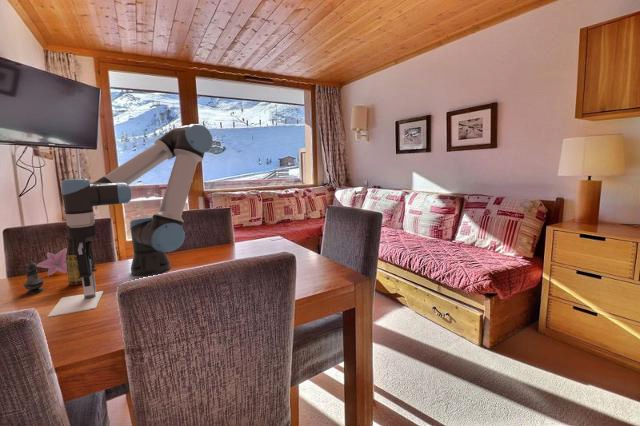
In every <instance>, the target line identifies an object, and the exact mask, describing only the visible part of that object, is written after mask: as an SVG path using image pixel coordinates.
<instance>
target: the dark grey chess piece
mask: <svg viewBox="0 0 640 426" xmlns="http://www.w3.org/2000/svg"><path fill="white" fill-rule="evenodd" d="M36 265H37V263H36V262H34V261H32V260H31V259H29V260H28V262H27V263H26V264H25V271H26V272H25V273H24V274H25V275H26V281H25V282H23V284H22V286H23V287H24V288H25V289H26V290H27V291H26V292H25V294H26V295H34V294H38V293H41V292H44V291H45V290H46V289H45V288H44V287H43V286H44V281H45V279H43V278H39V273H38V272H39V270H37V266H36ZM42 287H43V288H42Z"/></svg>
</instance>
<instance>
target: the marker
mask: <svg viewBox="0 0 640 426" xmlns="http://www.w3.org/2000/svg"><path fill="white" fill-rule="evenodd" d="M89 261H90V271H91V275H92V279H93V273H92V263H91V259H89ZM81 279H82V278H81ZM81 285H82V287H83V283H82V284H81ZM93 287H94V280H93ZM82 291H83V293H84V290H83V289H82ZM95 292H96V291H95V287H94V294H93V295H87V296H84V299H91V298H94V297H96V294H95Z"/></svg>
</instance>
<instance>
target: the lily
mask: <svg viewBox="0 0 640 426" xmlns="http://www.w3.org/2000/svg"><path fill="white" fill-rule="evenodd" d="M67 250H68V247H65V248H63V249H62V250H60V251H58V252H57V253H56V254H55V253H52V252H48V251H47V253H46V256H47V259H45V260H43V261H41V262H38V263H36V268H37V267H38V268H45V269H48V270H47V276H48V277H50V276H49V275H51V276H52V275H53V274H54V273H56V272H57V271H58V272H60V273H63V274H65V273H67V264H66V253H67Z"/></svg>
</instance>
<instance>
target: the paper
mask: <svg viewBox="0 0 640 426" xmlns="http://www.w3.org/2000/svg"><path fill="white" fill-rule="evenodd" d="M103 293H104V290H101V291H95V294H96V297H94V298H91V299H84V293H82V294H76V295H70V296H69V295H68V296H65V297H61V298H60V300H59V301H58V302H57V303H56V305H55V306H54V307H53V308H52V310H51V311H50V313H48V315H47V316H46V317H47V318H51V317H52V318H53V317H58V316H62V315H63V316H64V315H67V314H68V315H69V314H74V313H78V312H85V311H90V310H94V309H95V310H96V308H97V306H98V304H99V303H100V302H99V301H100V300H101V298H102V295H103Z"/></svg>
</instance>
